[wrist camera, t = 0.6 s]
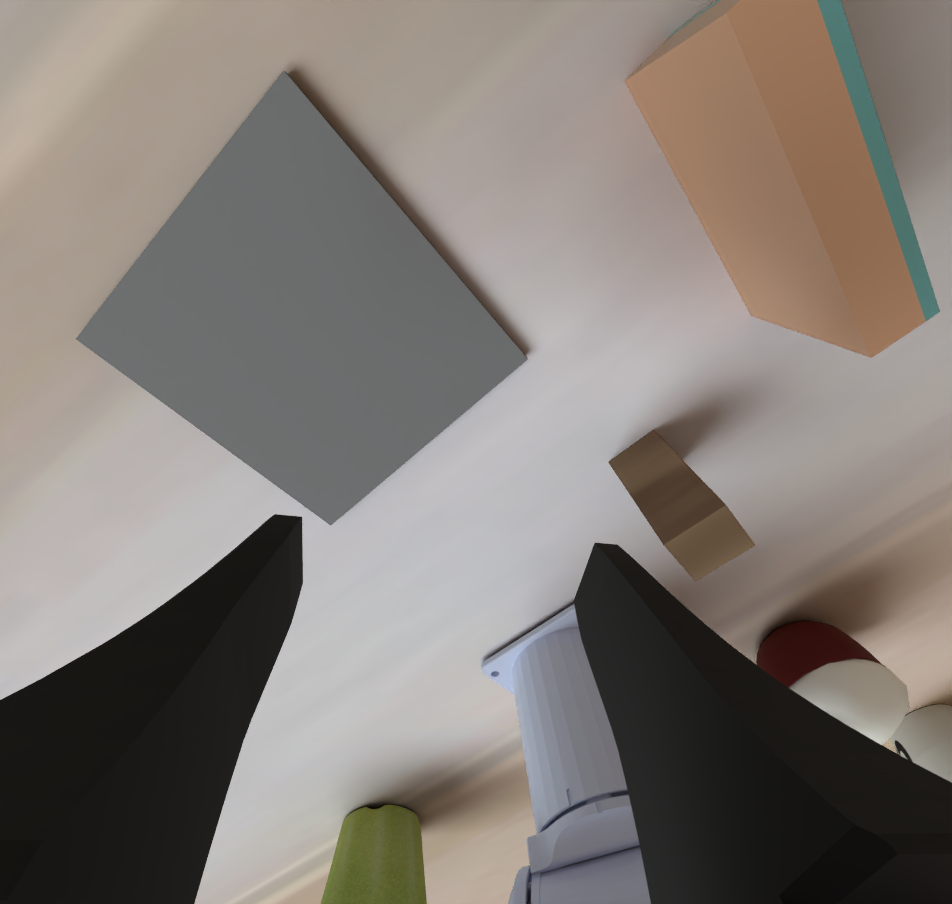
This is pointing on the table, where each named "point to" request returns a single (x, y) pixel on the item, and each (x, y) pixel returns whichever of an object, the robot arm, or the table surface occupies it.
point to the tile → (789, 168)
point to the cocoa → (836, 677)
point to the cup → (927, 739)
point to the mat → (302, 314)
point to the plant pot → (378, 859)
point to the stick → (680, 506)
